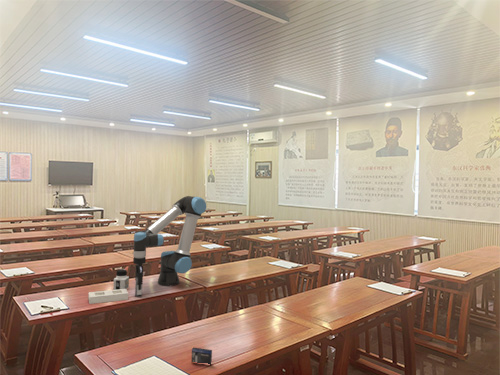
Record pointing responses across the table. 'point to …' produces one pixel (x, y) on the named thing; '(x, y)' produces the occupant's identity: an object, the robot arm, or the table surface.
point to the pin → (136, 289)
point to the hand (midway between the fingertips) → (138, 293)
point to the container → (121, 280)
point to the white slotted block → (107, 296)
